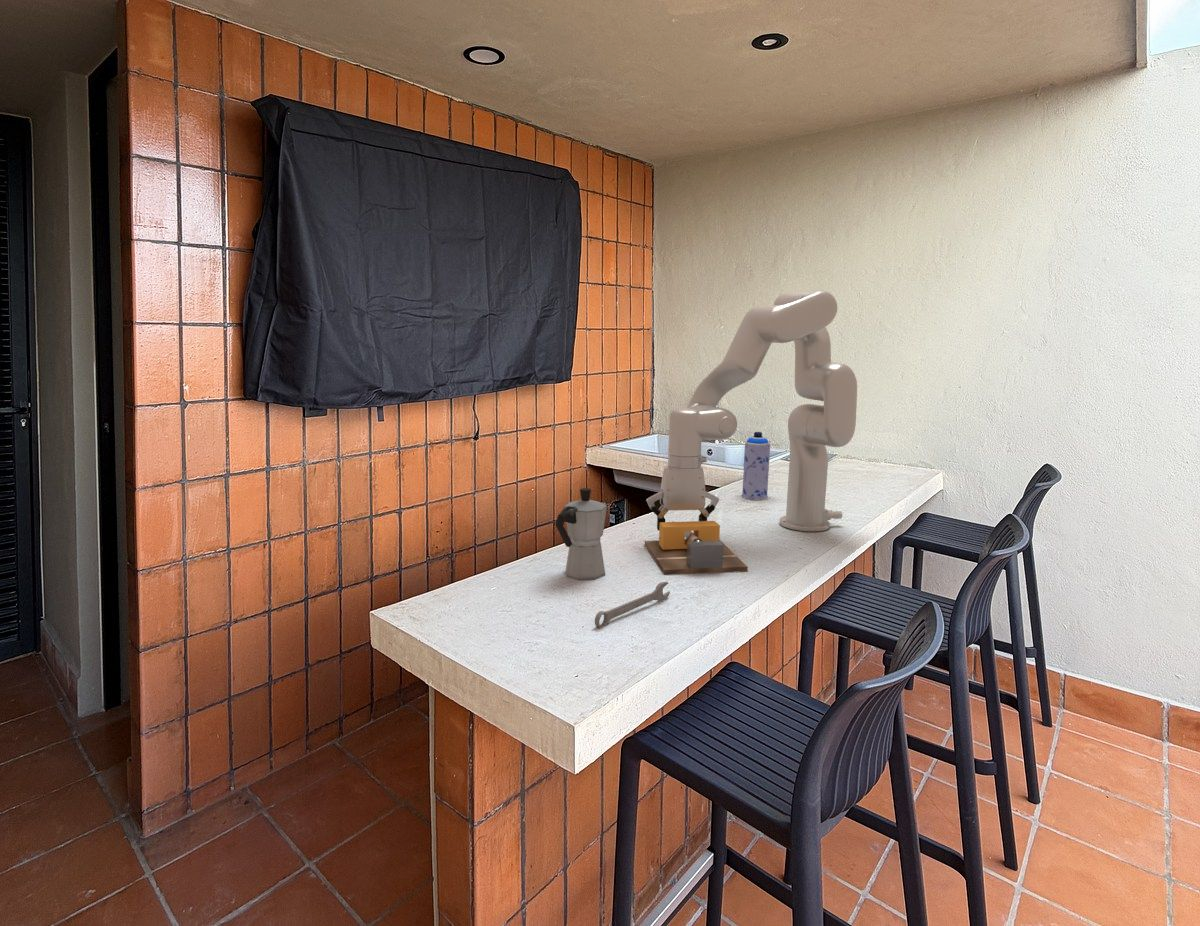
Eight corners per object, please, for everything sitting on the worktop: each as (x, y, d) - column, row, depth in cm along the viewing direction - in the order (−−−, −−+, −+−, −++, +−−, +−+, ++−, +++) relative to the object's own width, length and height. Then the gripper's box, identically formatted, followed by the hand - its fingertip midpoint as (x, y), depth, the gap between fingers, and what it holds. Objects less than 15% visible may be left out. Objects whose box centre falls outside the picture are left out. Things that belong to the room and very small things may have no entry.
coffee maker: (588, 560, 153) (589, 480, 149) (620, 569, 147) (621, 486, 144) (541, 579, 141) (540, 492, 138) (573, 589, 136) (573, 499, 132)
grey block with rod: (697, 540, 165) (698, 520, 164) (722, 567, 146) (723, 544, 145) (668, 541, 164) (669, 520, 163) (690, 568, 145) (690, 545, 144)
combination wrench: (598, 613, 117) (673, 580, 131) (592, 610, 118) (668, 579, 132) (598, 633, 118) (673, 599, 132) (593, 631, 119) (667, 597, 133)
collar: (713, 542, 162) (714, 520, 161) (718, 547, 158) (719, 525, 157) (658, 544, 160) (659, 522, 159) (662, 549, 156) (663, 527, 155)
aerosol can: (754, 493, 217) (758, 429, 213) (773, 498, 211) (777, 433, 207) (736, 496, 213) (739, 431, 209) (754, 501, 207) (758, 434, 203)
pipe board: (718, 542, 167) (718, 538, 166) (747, 571, 147) (747, 566, 147) (644, 545, 164) (644, 540, 164) (664, 574, 145) (664, 569, 144)
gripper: (715, 458, 167) (712, 527, 170) (644, 459, 164) (642, 529, 168) (725, 464, 160) (721, 536, 163) (651, 465, 157) (649, 538, 160)
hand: (681, 532), depth 165 cm, fingers open, 9 cm apart
